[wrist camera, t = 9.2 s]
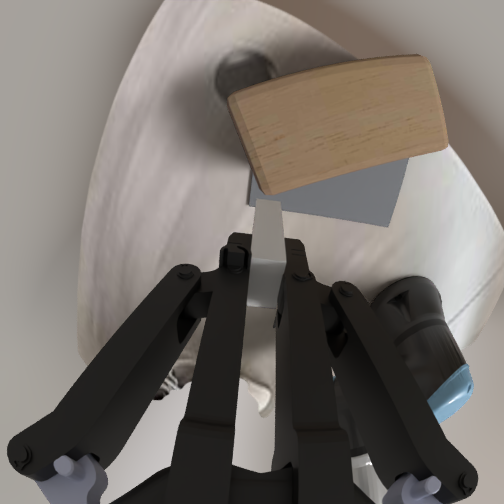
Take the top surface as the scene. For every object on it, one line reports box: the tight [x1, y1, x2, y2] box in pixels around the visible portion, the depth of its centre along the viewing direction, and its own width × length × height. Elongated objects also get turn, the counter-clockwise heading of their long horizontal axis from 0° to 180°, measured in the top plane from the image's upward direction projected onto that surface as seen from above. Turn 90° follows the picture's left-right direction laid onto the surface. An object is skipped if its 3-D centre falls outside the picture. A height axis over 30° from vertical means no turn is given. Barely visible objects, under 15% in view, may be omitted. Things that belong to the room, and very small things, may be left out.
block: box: [227, 54, 448, 195], centre depth 24 cm, size 10×10×20 cm
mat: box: [249, 158, 409, 227], centre depth 32 cm, size 20×13×1 cm, turn 84°
